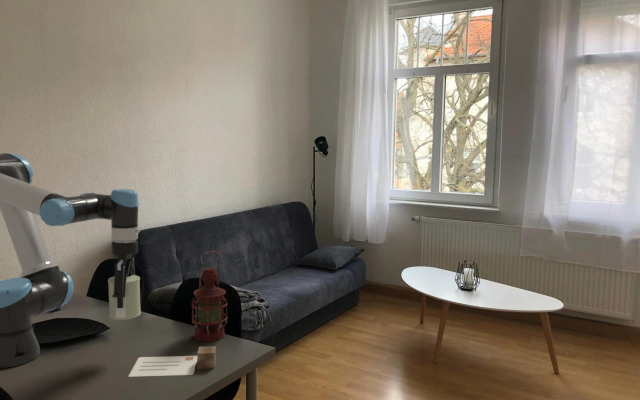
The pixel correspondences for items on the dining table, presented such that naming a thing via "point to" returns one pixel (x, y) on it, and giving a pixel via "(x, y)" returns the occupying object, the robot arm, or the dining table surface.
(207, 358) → the block
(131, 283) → the can
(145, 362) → the letter
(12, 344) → the robot arm
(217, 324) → the lantern
